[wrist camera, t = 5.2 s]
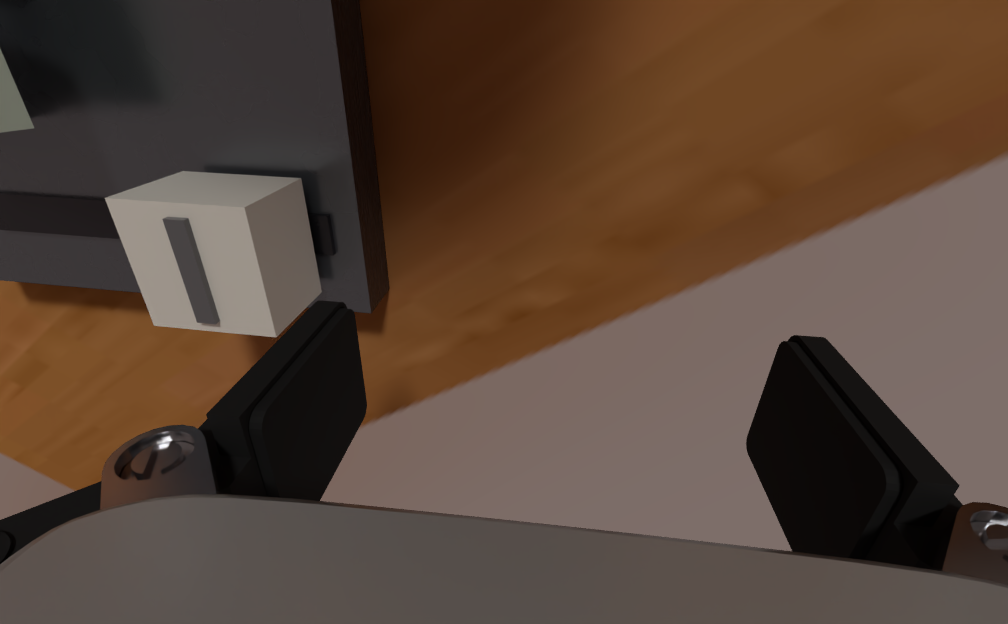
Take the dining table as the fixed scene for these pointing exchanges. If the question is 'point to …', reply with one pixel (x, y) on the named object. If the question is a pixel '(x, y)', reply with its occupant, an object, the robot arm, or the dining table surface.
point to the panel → (185, 127)
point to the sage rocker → (11, 102)
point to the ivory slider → (219, 250)
